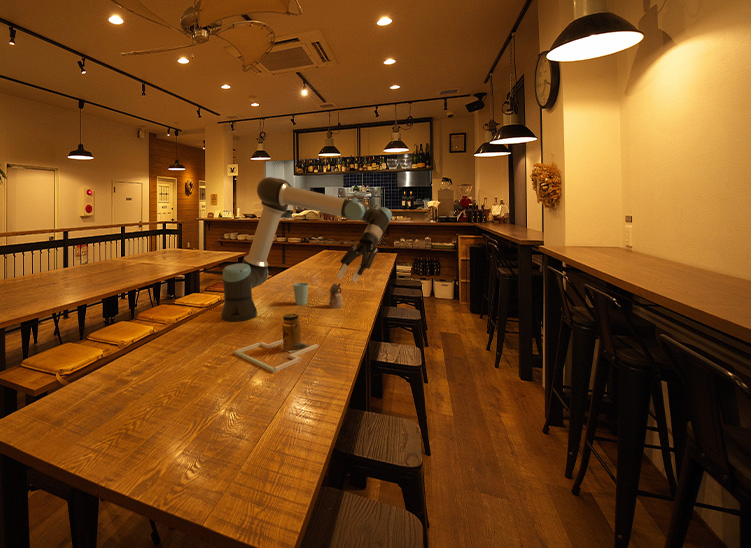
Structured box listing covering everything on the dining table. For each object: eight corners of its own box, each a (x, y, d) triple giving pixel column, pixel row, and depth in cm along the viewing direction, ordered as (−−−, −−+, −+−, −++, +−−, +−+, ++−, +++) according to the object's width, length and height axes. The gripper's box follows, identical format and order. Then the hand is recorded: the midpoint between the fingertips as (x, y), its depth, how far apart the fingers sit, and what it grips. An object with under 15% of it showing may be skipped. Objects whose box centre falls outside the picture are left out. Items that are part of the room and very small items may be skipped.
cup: (310, 304, 180) (310, 285, 178) (295, 306, 177) (294, 286, 175) (307, 301, 187) (306, 282, 185) (292, 302, 184) (291, 283, 182)
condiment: (278, 347, 125) (276, 315, 123) (297, 341, 132) (296, 310, 129) (290, 353, 121) (289, 320, 118) (310, 346, 127) (309, 314, 125)
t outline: (233, 353, 120) (233, 351, 119) (286, 335, 137) (286, 333, 137) (273, 372, 106) (273, 369, 106) (325, 350, 123) (325, 347, 123)
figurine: (329, 304, 181) (328, 281, 179) (343, 304, 181) (342, 281, 179) (328, 308, 174) (328, 284, 172) (342, 308, 174) (342, 284, 172)
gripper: (393, 244, 150) (369, 288, 140) (357, 241, 162) (332, 281, 152) (386, 232, 144) (360, 276, 135) (349, 230, 157) (323, 270, 147)
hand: (345, 279), depth 144 cm, fingers open, 8 cm apart
